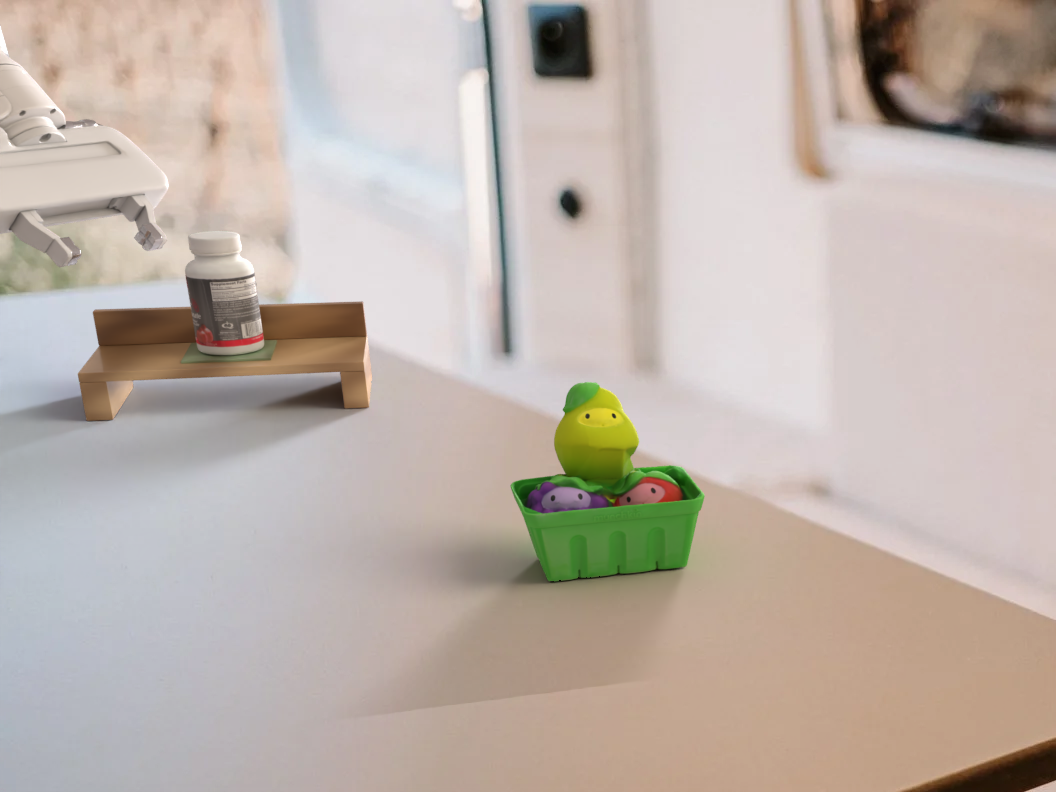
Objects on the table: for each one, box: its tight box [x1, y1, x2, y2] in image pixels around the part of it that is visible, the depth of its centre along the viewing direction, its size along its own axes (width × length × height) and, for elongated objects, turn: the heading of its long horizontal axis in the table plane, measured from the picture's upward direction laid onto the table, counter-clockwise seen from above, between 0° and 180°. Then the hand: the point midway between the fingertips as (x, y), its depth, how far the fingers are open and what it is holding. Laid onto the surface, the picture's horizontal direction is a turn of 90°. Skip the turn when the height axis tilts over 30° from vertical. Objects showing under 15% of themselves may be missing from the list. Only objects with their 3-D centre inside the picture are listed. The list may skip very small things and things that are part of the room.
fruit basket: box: [510, 381, 706, 582], centre depth 104 cm, size 11×9×11 cm
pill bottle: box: [184, 230, 264, 355], centre depth 137 cm, size 5×5×10 cm
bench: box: [77, 300, 373, 422], centre depth 139 cm, size 22×11×7 cm, turn 107°
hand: (116, 253), depth 138 cm, fingers open, 8 cm apart
